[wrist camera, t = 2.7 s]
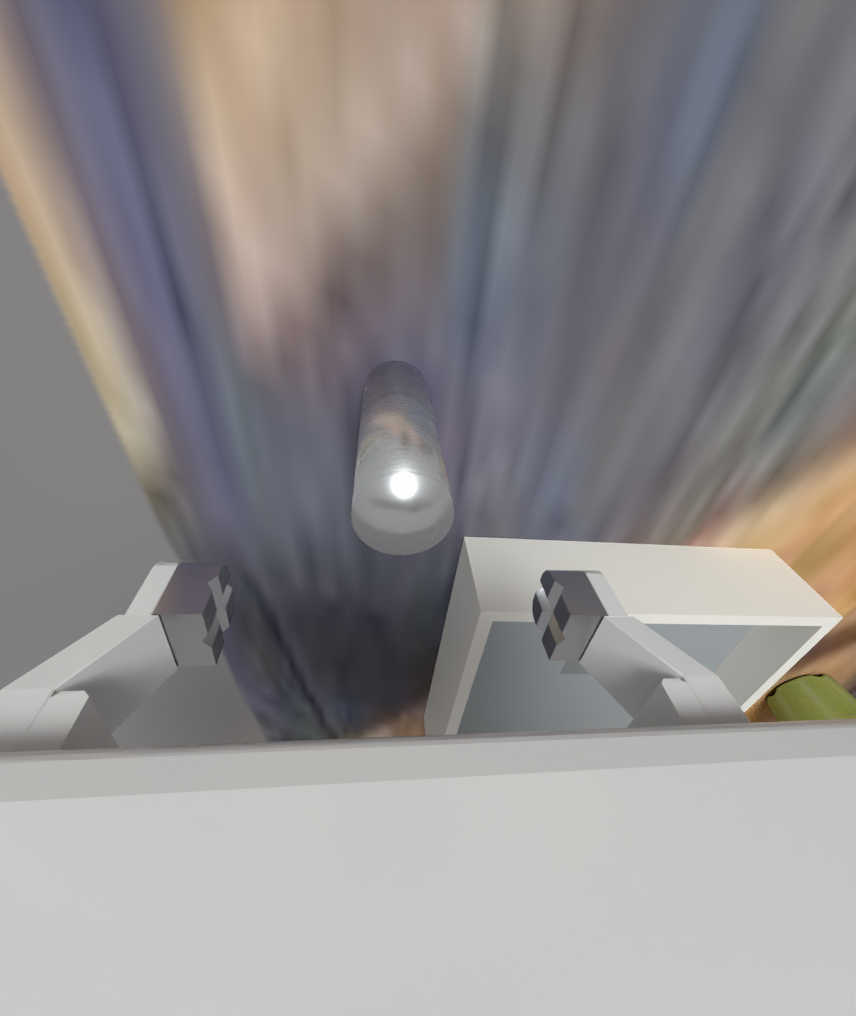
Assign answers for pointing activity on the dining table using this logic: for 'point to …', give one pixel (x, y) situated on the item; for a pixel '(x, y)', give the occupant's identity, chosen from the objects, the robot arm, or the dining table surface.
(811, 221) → the dining table surface
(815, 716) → the plant pot
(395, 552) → the peg
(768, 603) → the box
